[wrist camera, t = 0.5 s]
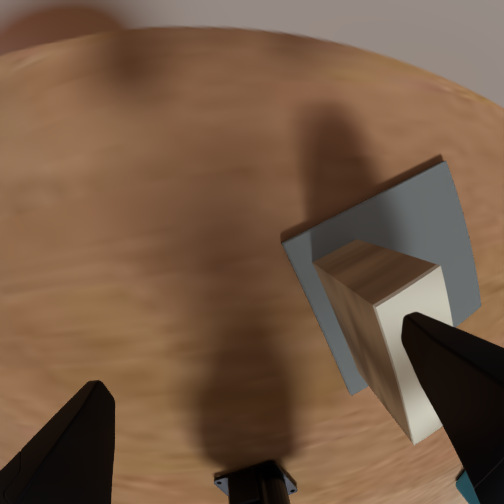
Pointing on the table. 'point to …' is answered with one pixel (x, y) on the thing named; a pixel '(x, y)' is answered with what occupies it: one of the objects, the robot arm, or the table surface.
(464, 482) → the data package
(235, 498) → the robot arm
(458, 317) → the mat
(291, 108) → the table surface
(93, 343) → the table surface
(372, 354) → the slab
